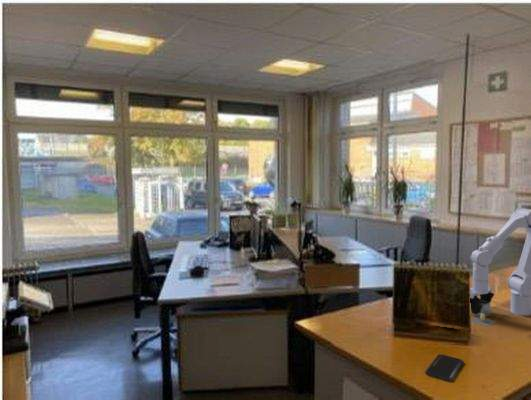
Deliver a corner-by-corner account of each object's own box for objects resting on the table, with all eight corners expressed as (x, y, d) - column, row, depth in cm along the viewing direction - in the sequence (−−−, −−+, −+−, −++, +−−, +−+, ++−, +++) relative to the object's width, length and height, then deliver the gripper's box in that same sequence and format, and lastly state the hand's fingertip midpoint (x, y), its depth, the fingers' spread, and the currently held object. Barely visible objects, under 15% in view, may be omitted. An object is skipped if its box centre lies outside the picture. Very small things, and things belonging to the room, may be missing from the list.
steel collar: (477, 310, 173) (477, 298, 173) (490, 314, 169) (490, 302, 168) (469, 313, 170) (470, 301, 170) (482, 317, 166) (483, 305, 165)
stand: (476, 312, 174) (476, 305, 173) (491, 316, 169) (491, 309, 168) (468, 315, 170) (468, 308, 170) (483, 319, 165) (483, 312, 165)
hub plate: (478, 319, 166) (478, 309, 166) (496, 324, 160) (496, 314, 160) (469, 323, 162) (469, 313, 162) (486, 328, 157) (486, 318, 156)
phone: (464, 360, 131) (451, 379, 119) (464, 363, 131) (451, 383, 119) (438, 353, 136) (423, 371, 124) (438, 356, 136) (423, 375, 124)
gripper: (480, 274, 175) (480, 305, 177) (461, 280, 167) (460, 312, 169) (497, 277, 170) (496, 309, 171) (478, 284, 162) (477, 317, 163)
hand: (479, 311), depth 169 cm, fingers open, 7 cm apart
